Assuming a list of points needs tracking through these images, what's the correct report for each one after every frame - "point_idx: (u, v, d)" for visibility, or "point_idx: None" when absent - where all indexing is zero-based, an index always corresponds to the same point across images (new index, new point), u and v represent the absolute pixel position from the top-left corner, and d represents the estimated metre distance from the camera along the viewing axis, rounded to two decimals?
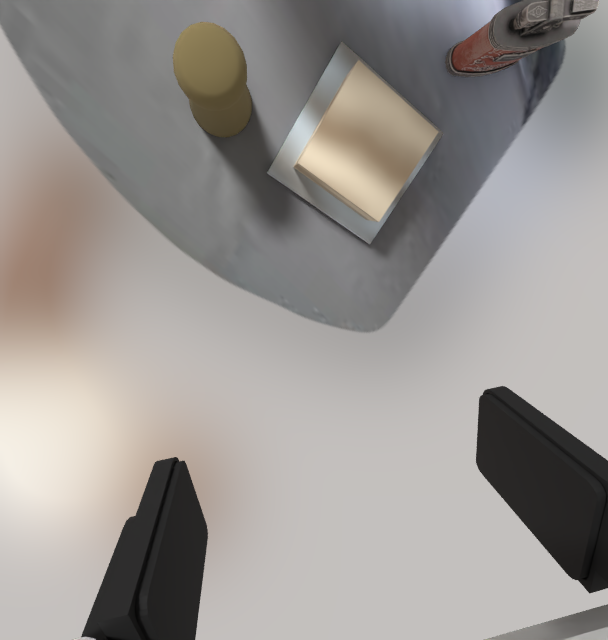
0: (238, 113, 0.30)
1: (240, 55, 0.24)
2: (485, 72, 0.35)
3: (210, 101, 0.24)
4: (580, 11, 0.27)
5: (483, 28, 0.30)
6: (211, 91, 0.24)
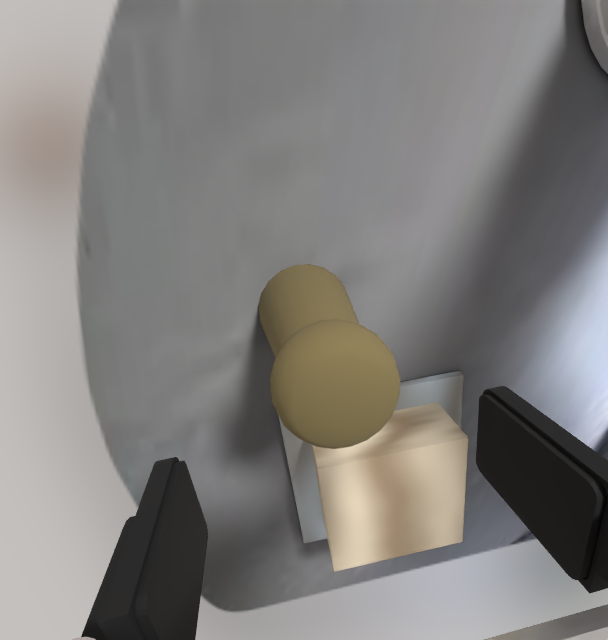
0: None
1: (385, 423, 0.13)
2: None
3: (292, 432, 0.13)
4: None
5: None
6: (307, 434, 0.13)
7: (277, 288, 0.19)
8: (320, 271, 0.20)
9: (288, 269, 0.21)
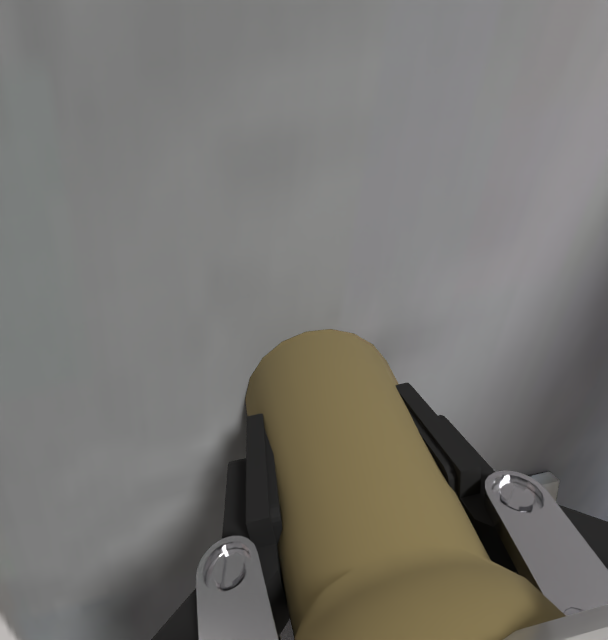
0: None
1: None
2: None
3: None
4: None
5: None
6: None
7: (278, 382, 0.11)
8: (351, 344, 0.12)
9: (295, 339, 0.12)
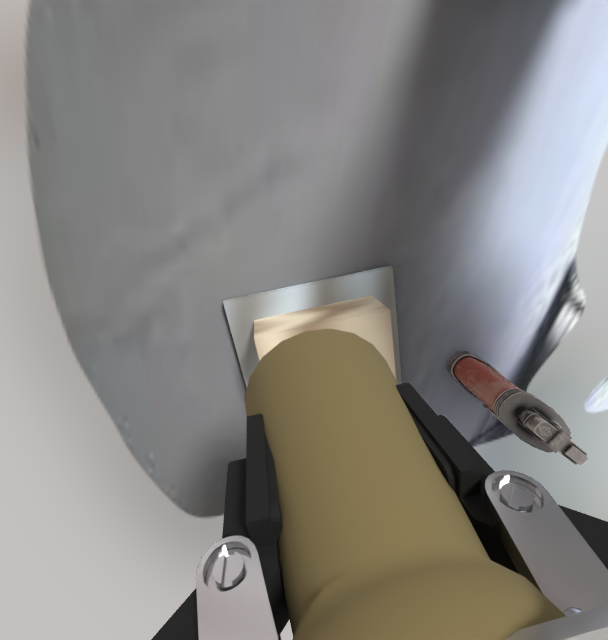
0: None
1: None
2: (470, 393, 0.33)
3: None
4: (569, 456, 0.25)
5: (498, 382, 0.27)
6: None
7: (277, 381, 0.11)
8: (351, 344, 0.12)
9: (295, 339, 0.12)
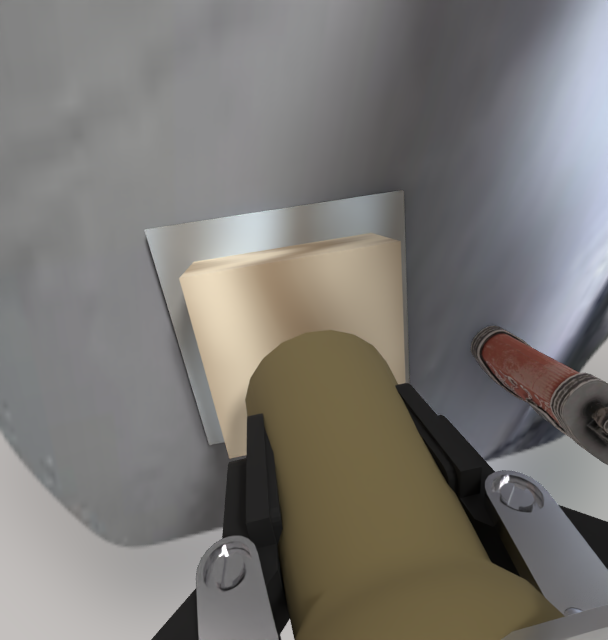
0: None
1: None
2: (501, 385, 0.24)
3: None
4: None
5: (555, 365, 0.18)
6: None
7: (278, 383, 0.11)
8: (351, 345, 0.12)
9: (295, 340, 0.12)
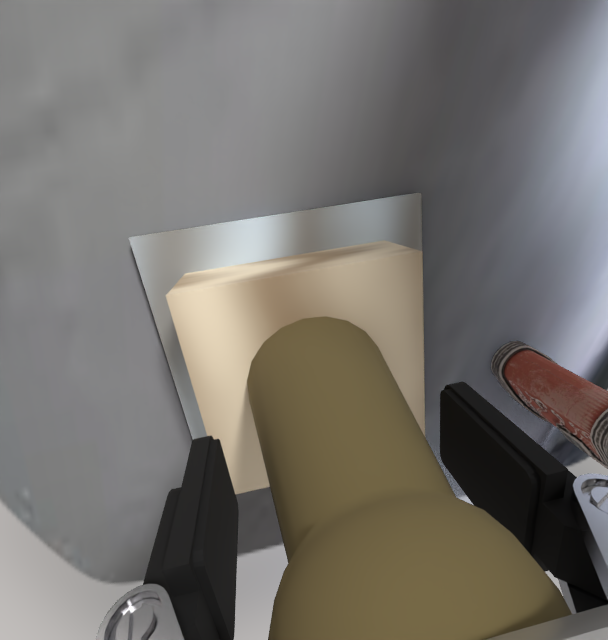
0: None
1: None
2: (524, 405, 0.22)
3: None
4: None
5: (594, 390, 0.16)
6: None
7: (277, 362, 0.12)
8: (345, 329, 0.13)
9: (293, 325, 0.13)
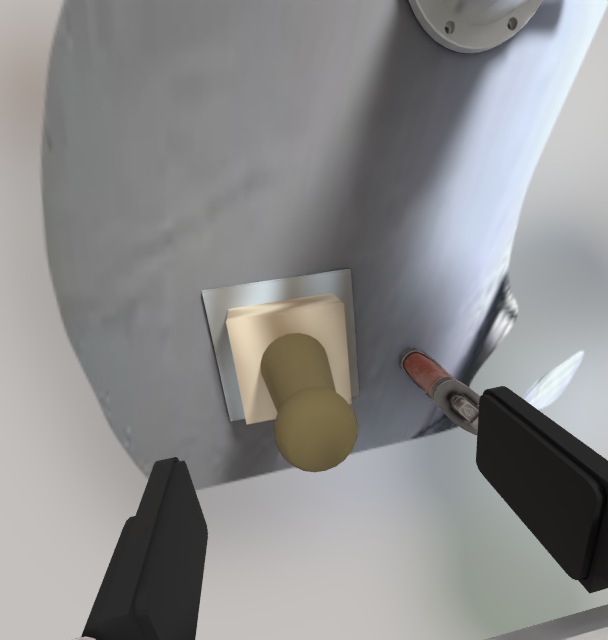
0: None
1: (347, 455, 0.21)
2: (418, 386, 0.37)
3: (288, 461, 0.20)
4: None
5: (436, 372, 0.32)
6: (297, 462, 0.20)
7: (275, 353, 0.27)
8: (307, 339, 0.28)
9: (283, 337, 0.29)
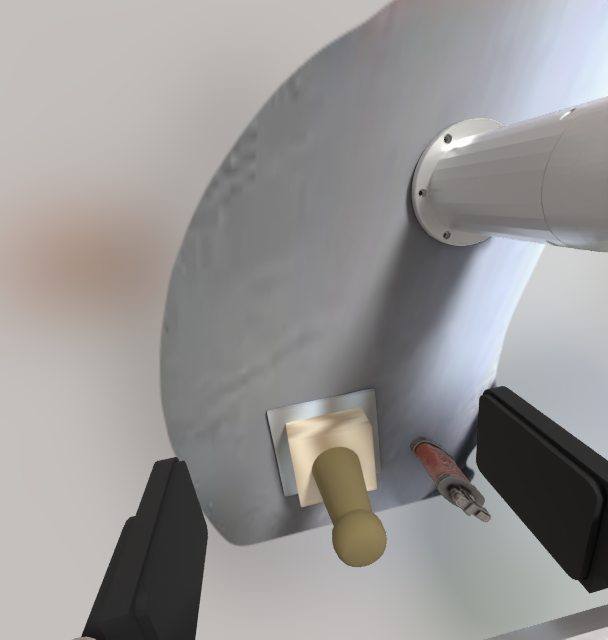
0: None
1: (380, 555, 0.32)
2: None
3: (343, 561, 0.32)
4: (479, 517, 0.41)
5: (439, 467, 0.43)
6: (349, 563, 0.31)
7: (325, 467, 0.38)
8: (345, 453, 0.40)
9: (328, 450, 0.40)
